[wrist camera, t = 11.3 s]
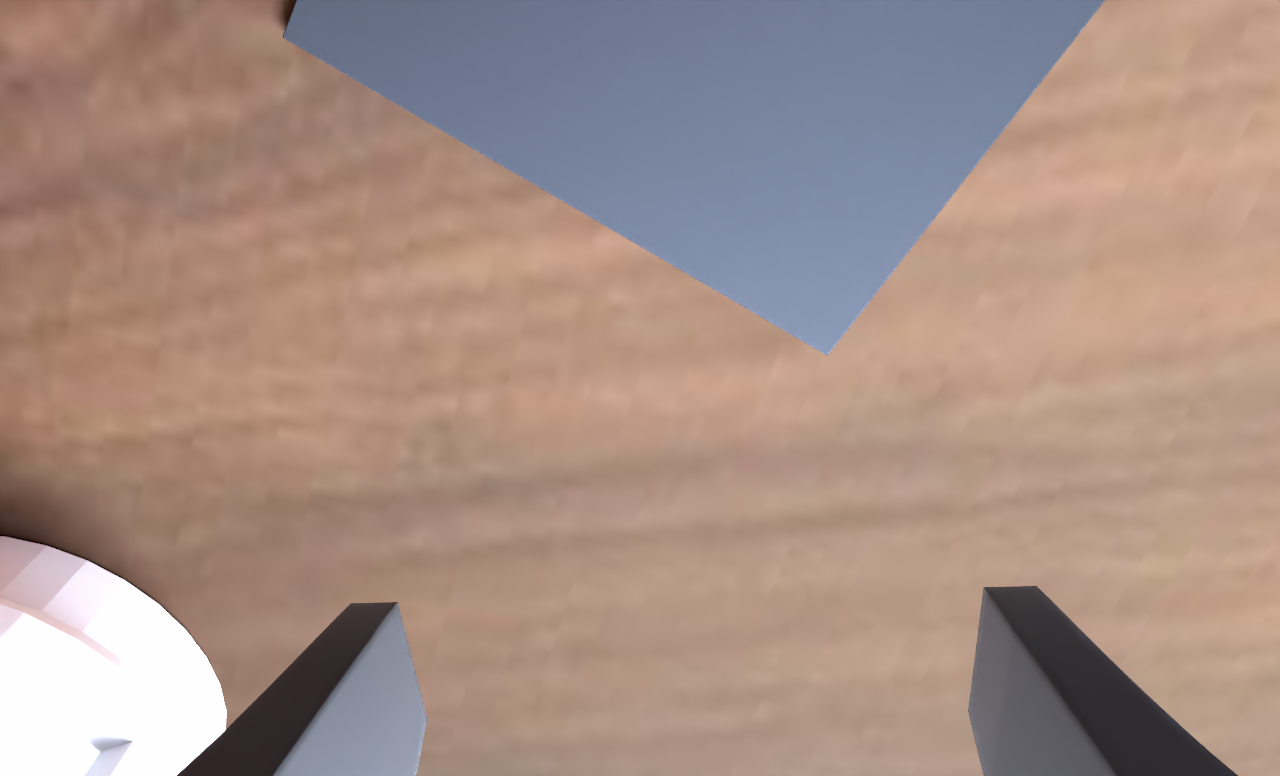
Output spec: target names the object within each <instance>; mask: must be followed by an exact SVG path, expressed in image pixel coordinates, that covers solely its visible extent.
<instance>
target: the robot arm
mask: <svg viewBox="0 0 1280 776" xmlns="http://www.w3.org/2000/svg"><path fill="white" fill-rule="evenodd" d="M968 712H969V716H970V720H971V725H972V729H973V733H974V737H975V742H976V746H977V750H978V754H979V758H980V762H981V766H982V770H983V774H984V776H1238V775H1237V774H1235V773H1234V772H1233V771H1232V770H1231V769H1229V768H1228V767H1227V766H1226V765H1225V764H1223V763H1222V762H1221V761H1220V760H1219V759H1217V758H1216V757H1215V756H1214V755H1213V754H1212V753H1210V752H1209V751H1208V750H1207V749H1206V748H1205V747H1204V746H1203V745H1201V744H1200V743H1199V742H1198V741H1197V740H1196V739H1195V738H1194V737H1192V736H1191V735H1190V734H1189V733H1188V732H1187V731H1186V730H1185V729H1184V728H1182V727H1181V726H1180V725H1179V724H1178V723H1177V722H1176V721H1175V720H1174V719H1173V718H1172V717H1171V716H1170V715H1168V714H1167V713H1166V712H1165V711H1164V710H1163V709H1162V708H1161V707H1160V706H1159V705H1158V704H1157V703H1155V702H1154V701H1153V700H1152V699H1151V698H1150V697H1149V696H1148V695H1147V694H1146V693H1145V692H1144V691H1142V690H1141V689H1140V688H1139V687H1138V686H1137V685H1136V684H1135V683H1134V682H1133V681H1132V680H1131V679H1130V678H1129V677H1128V676H1127V675H1126V674H1125V673H1124V672H1123V671H1122V670H1121V669H1120V668H1119V667H1118V666H1117V665H1116V664H1115V663H1113V662H1112V661H1111V660H1110V659H1109V658H1108V657H1107V656H1106V655H1105V654H1104V653H1103V652H1102V651H1101V650H1100V649H1099V648H1098V647H1097V646H1096V645H1095V644H1094V643H1093V642H1092V641H1091V640H1090V639H1089V638H1088V637H1087V636H1086V635H1085V634H1084V633H1083V632H1082V631H1081V630H1080V629H1079V628H1078V627H1077V626H1076V625H1075V624H1074V623H1073V622H1072V621H1071V620H1070V619H1069V618H1068V617H1067V616H1066V615H1065V614H1064V613H1063V612H1062V611H1061V610H1060V609H1059V608H1058V607H1057V606H1056V605H1055V604H1054V603H1053V602H1052V601H1051V600H1050V599H1049V598H1048V597H1047V596H1046V595H1045V594H1044V593H1043V592H1042V591H1041V590H1040V589H1039V588H1038V587H1037V586H1022V587H984V589H983V597H982V605H981V613H980V621H979V629H978V637H977V645H976V654H975V662H974V670H973V678H972V686H971V694H970V702H969V710H968ZM426 723H427V716H426V712H425V708H424V704H423V700H422V696H421V693H420V689H419V685H418V681H417V677H416V673H415V669H414V665H413V661H412V657H411V653H410V649H409V645H408V641H407V638H406V634H405V630H404V626H403V622H402V618H401V614H400V610H399V606H398V602H392V603H352V604H350V605H349V606H348V607H347V608H346V609H345V610H344V611H343V612H342V613H341V614H340V615H339V616H338V617H337V618H336V619H335V620H334V621H333V622H332V623H331V624H330V625H329V626H328V627H327V628H326V629H325V630H324V631H323V632H322V633H321V634H320V635H319V636H318V637H317V638H316V639H315V640H314V641H313V642H312V643H311V644H310V645H309V646H308V647H307V648H306V650H305V651H304V652H303V653H302V654H301V655H300V656H299V657H298V658H297V659H296V660H295V661H294V662H293V663H292V664H291V665H290V666H289V667H288V668H287V669H286V670H285V671H284V672H283V673H282V674H281V675H280V676H279V677H278V678H277V679H276V680H275V681H274V682H273V683H272V684H271V685H270V686H269V687H268V688H267V689H266V690H265V691H264V692H263V693H262V694H261V695H260V696H259V697H258V698H257V699H256V700H255V701H254V702H253V703H252V704H251V705H250V706H249V707H248V708H247V709H246V710H245V711H244V712H243V713H242V714H241V715H240V716H239V717H238V718H237V719H236V720H235V721H234V722H233V723H232V724H231V725H230V726H229V727H228V728H227V729H226V730H225V731H224V732H223V733H222V734H221V735H220V736H219V737H218V738H216V739H215V740H214V741H213V742H212V743H211V744H210V745H209V746H208V747H207V748H206V749H204V750H203V751H202V752H201V753H200V754H199V755H198V756H197V757H196V758H195V759H194V760H193V761H191V762H190V763H189V764H188V765H187V766H186V767H185V768H184V769H183V770H182V771H181V772H179V773H178V774H177V775H176V776H416V773H417V768H418V764H419V759H420V754H421V749H422V744H423V739H424V734H425V729H426Z"/></svg>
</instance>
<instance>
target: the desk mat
mask: <svg viewBox="0 0 1280 776" xmlns="http://www.w3.org/2000/svg"><path fill="white" fill-rule="evenodd" d="M1104 1H1105V0H296V3H295V5H294V8H293V11H292V13H291V16H290V19H289V21H288V24H287V26H286V29H285V32H284V34H283V38H284V39H286V40H288V41H290V42H291V43H293V44H295V45H296V46H298V47H300V48H302V49H303V50H305V51H307V52H308V53H310V54H312V55H314V56H315V57H317V58H319V59H320V60H322V61H324V62H326V63H327V64H329V65H331V66H332V67H334V68H336V69H337V70H339V71H341V72H343V73H344V74H346V75H348V76H349V77H351V78H353V79H355V80H356V81H358V82H360V83H361V84H363V85H365V86H367V87H368V88H370V89H372V90H373V91H375V92H377V93H379V94H380V95H382V96H384V97H385V98H387V99H389V100H391V101H392V102H394V103H396V104H397V105H399V106H401V107H403V108H404V109H406V110H408V111H409V112H411V113H413V114H415V115H416V116H418V117H420V118H421V119H423V120H425V121H427V122H428V123H430V124H432V125H433V126H435V127H437V128H438V129H440V130H442V131H444V132H445V133H447V134H449V135H450V136H452V137H454V138H456V139H457V140H459V141H461V142H462V143H464V144H466V145H468V146H469V147H471V148H473V149H474V150H476V151H478V152H480V153H481V154H483V155H485V156H486V157H488V158H490V159H492V160H493V161H495V162H497V163H498V164H500V165H502V166H504V167H505V168H507V169H509V170H510V171H512V172H514V173H516V174H517V175H519V176H521V177H522V178H524V179H526V180H528V181H529V182H531V183H533V184H534V185H536V186H538V187H540V188H541V189H543V190H545V191H546V192H548V193H550V194H551V195H553V196H555V197H557V198H558V199H560V200H562V201H563V202H565V203H567V204H569V205H570V206H572V207H574V208H575V209H577V210H579V211H581V212H582V213H584V214H586V215H587V216H589V217H591V218H593V219H594V220H596V221H598V222H599V223H601V224H603V225H605V226H606V227H608V228H610V229H611V230H613V231H615V232H617V233H618V234H620V235H622V236H623V237H625V238H627V239H629V240H630V241H632V242H634V243H635V244H637V245H639V246H641V247H642V248H644V249H646V250H647V251H649V252H651V253H653V254H654V255H656V256H658V257H659V258H661V259H663V260H664V261H666V262H668V263H670V264H671V265H673V266H675V267H676V268H678V269H680V270H682V271H683V272H685V273H687V274H688V275H690V276H692V277H694V278H695V279H697V280H699V281H700V282H702V283H704V284H706V285H707V286H709V287H711V288H712V289H714V290H716V291H718V292H719V293H721V294H723V295H724V296H726V297H728V298H730V299H731V300H733V301H735V302H736V303H738V304H740V305H742V306H743V307H745V308H747V309H748V310H750V311H752V312H754V313H755V314H757V315H759V316H760V317H762V318H764V319H766V320H767V321H769V322H771V323H772V324H774V325H776V326H777V327H779V328H781V329H783V330H784V331H786V332H788V333H789V334H791V335H793V336H795V337H796V338H798V339H800V340H801V341H803V342H805V343H807V344H808V345H810V346H812V347H813V348H815V349H817V350H819V351H820V352H822V353H824V354H825V355H828V354H829V353H830V351H831V350H832V349H833V348H834V346H835V345H836V344H837V343H838V341H839V340H840V339H841V337H842V336H843V335H844V334H845V332H846V331H847V330H848V328H849V327H850V326H851V325H852V323H853V322H854V321H855V319H856V318H857V317H858V316H859V314H860V313H861V312H862V311H863V309H864V308H865V307H866V305H867V304H868V303H869V302H870V300H871V299H872V298H873V296H874V295H875V294H876V293H877V291H878V290H879V289H880V287H881V286H882V285H883V284H884V282H885V281H886V280H887V279H888V277H889V276H890V275H891V273H892V272H893V271H894V270H895V268H896V267H897V266H898V264H899V263H900V262H901V261H902V259H903V258H904V257H905V255H906V254H907V253H908V252H909V250H910V249H911V248H912V247H913V245H914V244H915V243H916V241H917V240H918V239H919V238H920V236H921V235H922V234H923V232H924V231H925V230H926V229H927V227H928V226H929V225H930V223H931V222H932V221H933V220H934V218H935V217H936V216H937V215H938V213H939V212H940V211H941V209H942V208H943V207H944V206H945V204H946V203H947V202H948V200H949V199H950V198H951V197H952V195H953V194H954V193H955V191H956V190H957V189H958V188H959V186H960V185H961V184H962V183H963V181H964V180H965V179H966V177H967V176H968V175H969V174H970V172H971V171H972V170H973V168H974V167H975V166H976V165H977V163H978V162H979V161H980V159H981V158H982V157H983V156H984V154H985V153H986V152H987V151H988V149H989V148H990V147H991V145H992V144H993V143H994V142H995V140H996V139H997V138H998V136H999V135H1000V134H1001V133H1002V131H1003V130H1004V129H1005V127H1006V126H1007V125H1008V124H1009V122H1010V121H1011V120H1012V119H1013V117H1014V116H1015V115H1016V113H1017V112H1018V111H1019V110H1020V108H1021V107H1022V106H1023V104H1024V103H1025V102H1026V101H1027V99H1028V98H1029V97H1030V95H1031V94H1032V93H1033V92H1034V90H1035V89H1036V88H1037V87H1038V85H1039V84H1040V83H1041V81H1042V80H1043V79H1044V78H1045V76H1046V75H1047V74H1048V72H1049V71H1050V70H1051V69H1052V67H1053V66H1054V65H1055V63H1056V62H1057V61H1058V60H1059V58H1060V57H1061V56H1062V55H1063V53H1064V52H1065V51H1066V49H1067V48H1068V47H1069V46H1070V44H1071V43H1072V42H1073V40H1074V39H1075V38H1076V37H1077V35H1078V34H1079V33H1080V31H1081V30H1082V29H1083V28H1084V26H1085V25H1086V24H1087V23H1088V21H1089V20H1090V19H1091V17H1092V16H1093V15H1094V14H1095V12H1096V11H1097V10H1098V8H1099V7H1100V6H1101V5H1102V3H1103V2H1104Z"/></svg>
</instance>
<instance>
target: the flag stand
mask: <svg viewBox="0 0 1280 776" xmlns="http://www.w3.org/2000/svg"><path fill="white" fill-rule="evenodd" d="M225 727H226V708H225V704H224V700H223V695H222V691H221V687H220V684H219V682H218V680H217V678H216V676H215V674H214V671H213V669H212V667H211V665H210V663H209V661H208V659H207V657H206V656H205V655H204V653H203V652H202V651H201V649H200V648H199V647H198V645H197V644H196V643H195V641H194V640H193V639H192V637H191V636H190V635H189V633H188V632H187V631H186V630H185V629H184V628H183V627H182V626H181V625H180V624H179V623H178V622H177V621H176V620H175V619H174V618H173V617H172V616H171V615H170V614H169V613H168V612H167V611H165V610H164V609H163V608H162V607H161V606H160V605H159V604H158V603H157V602H155V601H154V600H152V599H151V598H150V597H148V596H147V595H145V594H144V593H143V592H141V591H140V590H138V589H137V588H135V587H134V586H133V585H131V584H130V583H128V582H127V581H126V580H124V579H122V578H120V577H118V576H116V575H114V574H112V573H110V572H109V571H107V570H105V569H103V568H101V567H99V566H97V565H95V564H93V563H91V562H89V561H88V560H85V559H82V558H79V557H77V556H74V555H71V554H68V553H66V552H63V551H60V550H58V549H55V548H52V547H49V546H46V545H42V544H37V543H33V542H28V541H23V540H19V539H14V538H10V537H3V536H0V776H176V775H177V774H178V773H179V772H181V771H182V770H183V769H184V768H185V767H186V766H187V765H188V764H189V763H190V762H191V761H193V760H194V759H195V758H196V757H197V756H198V755H199V754H200V753H201V752H202V751H203V750H204V749H206V748H207V747H208V746H209V745H210V744H211V743H212V742H213V741H214V740H215V739H216V738H218V737H219V736H220V735H221V734H222V733H223V732H224V731H225Z"/></svg>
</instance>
